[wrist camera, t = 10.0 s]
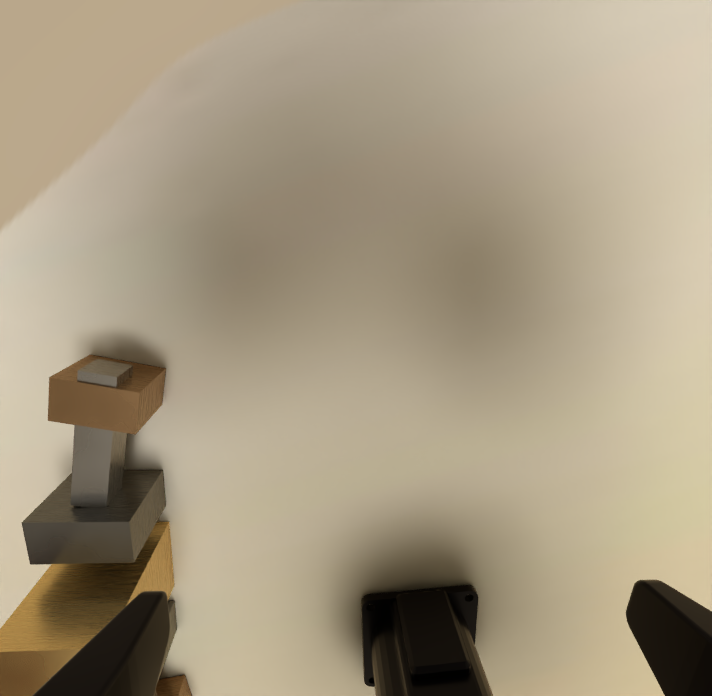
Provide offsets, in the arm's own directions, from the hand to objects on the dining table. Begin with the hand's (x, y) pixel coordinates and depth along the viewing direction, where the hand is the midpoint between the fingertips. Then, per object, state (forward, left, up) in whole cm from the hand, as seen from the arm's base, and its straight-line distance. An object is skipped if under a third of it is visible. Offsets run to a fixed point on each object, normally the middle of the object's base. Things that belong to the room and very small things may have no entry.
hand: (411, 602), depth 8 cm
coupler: (-9, +12, -12) cm, 19 cm away
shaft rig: (-9, +12, -12) cm, 19 cm away
